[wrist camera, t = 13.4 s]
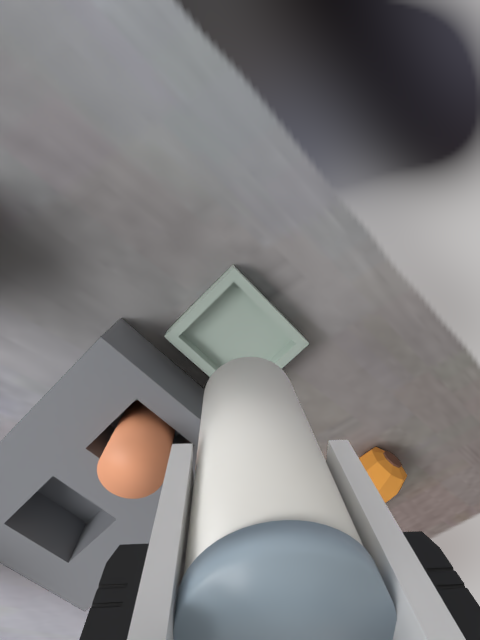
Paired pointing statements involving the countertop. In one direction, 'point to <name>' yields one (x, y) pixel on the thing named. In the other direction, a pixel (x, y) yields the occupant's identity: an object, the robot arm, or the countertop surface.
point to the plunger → (136, 454)
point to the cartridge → (271, 525)
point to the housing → (86, 464)
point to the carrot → (384, 472)
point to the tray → (234, 326)
